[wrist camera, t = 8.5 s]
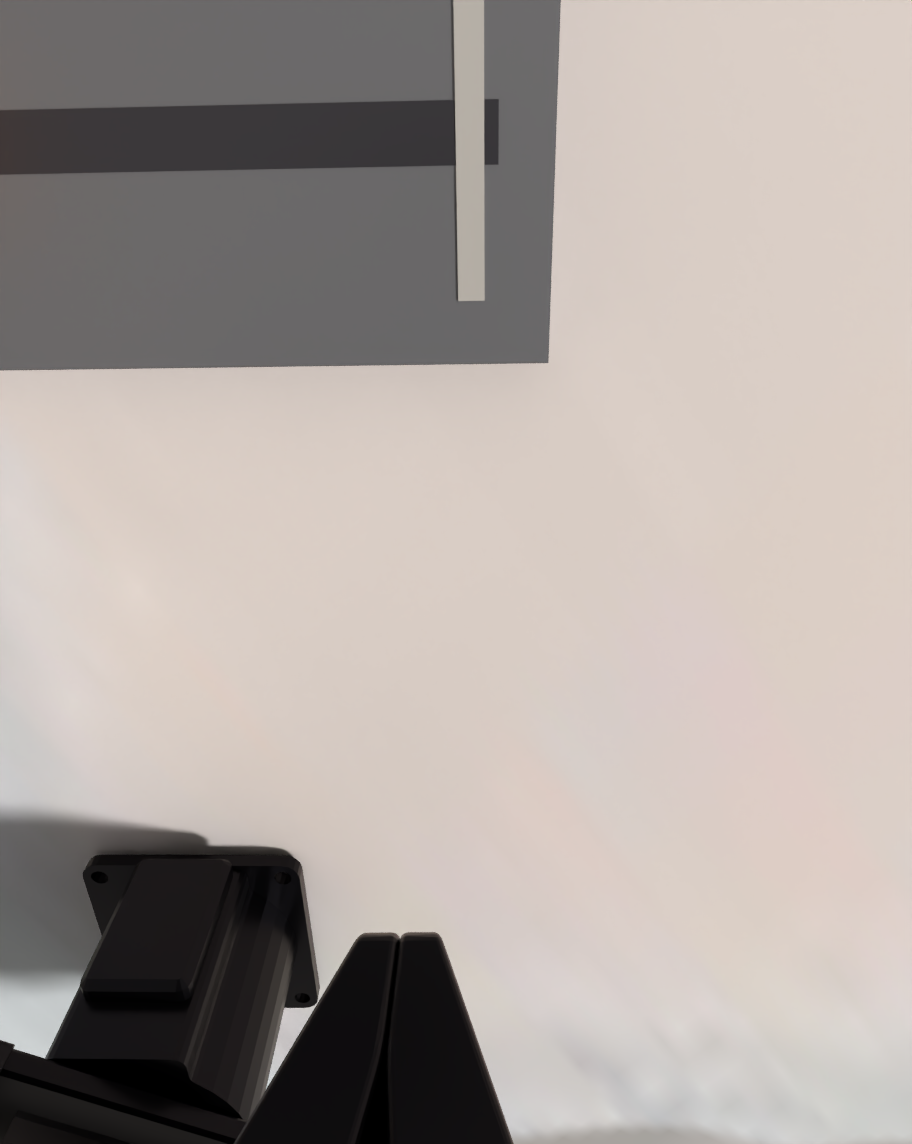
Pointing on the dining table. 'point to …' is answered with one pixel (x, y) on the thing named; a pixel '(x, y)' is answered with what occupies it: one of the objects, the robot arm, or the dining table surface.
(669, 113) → the dining table surface
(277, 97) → the board
